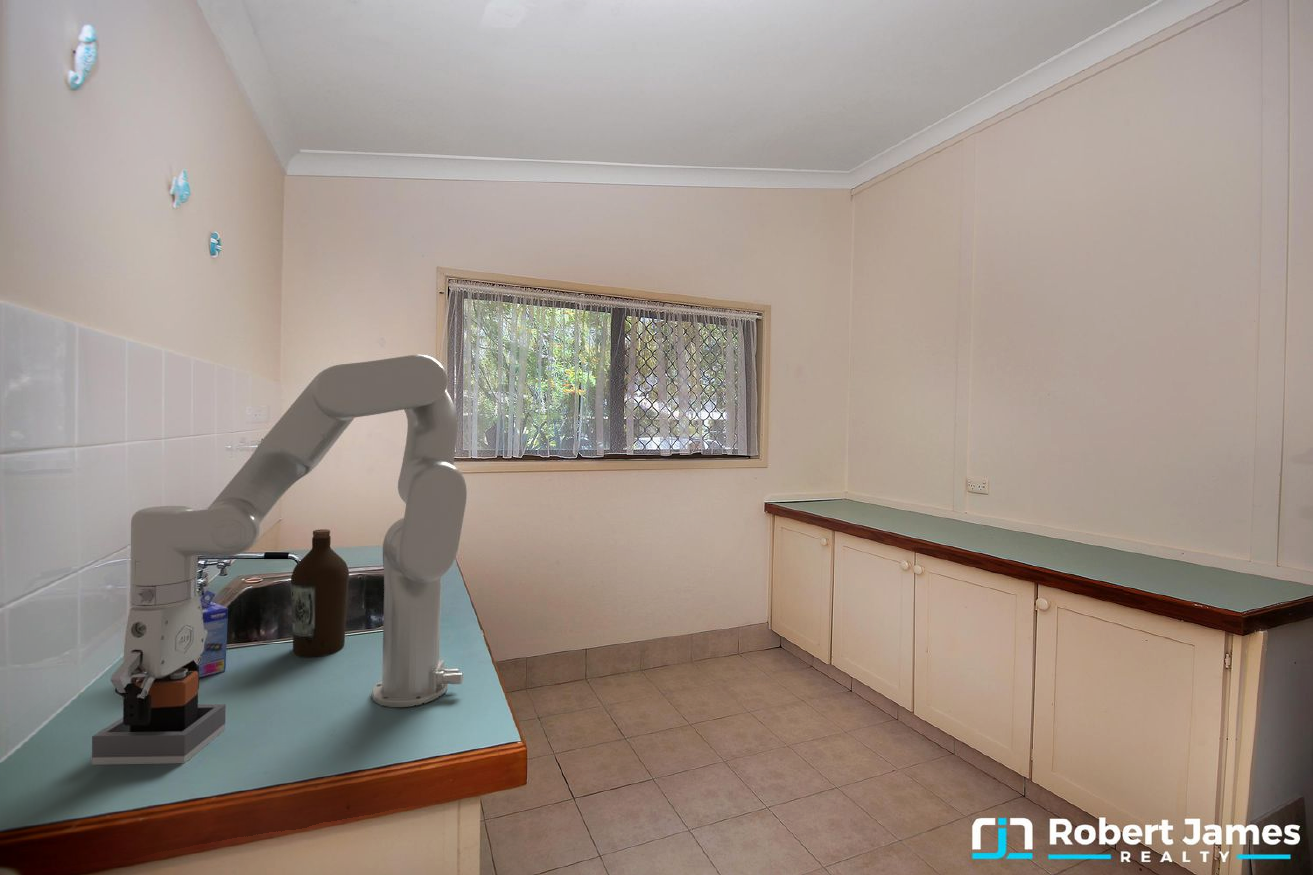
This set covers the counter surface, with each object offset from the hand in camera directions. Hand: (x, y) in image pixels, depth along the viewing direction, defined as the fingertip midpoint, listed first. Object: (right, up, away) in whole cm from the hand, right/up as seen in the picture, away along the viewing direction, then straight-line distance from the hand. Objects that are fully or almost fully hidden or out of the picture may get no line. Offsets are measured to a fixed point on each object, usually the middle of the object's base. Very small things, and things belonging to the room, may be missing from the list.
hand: (163, 706), depth 87 cm
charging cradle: (0, -6, 0) cm, 6 cm away
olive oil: (+1, -5, +37) cm, 38 cm away
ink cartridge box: (-15, -5, +26) cm, 30 cm away
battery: (0, -5, 0) cm, 5 cm away
